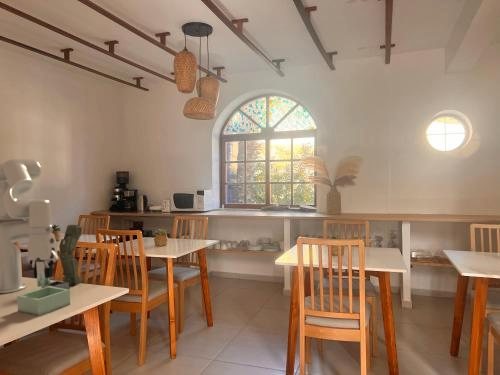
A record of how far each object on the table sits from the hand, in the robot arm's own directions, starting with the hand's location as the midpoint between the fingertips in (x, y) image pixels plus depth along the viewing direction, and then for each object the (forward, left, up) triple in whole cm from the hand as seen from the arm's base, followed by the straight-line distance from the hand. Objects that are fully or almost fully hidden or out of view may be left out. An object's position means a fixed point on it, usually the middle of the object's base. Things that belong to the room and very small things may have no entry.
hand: (43, 276), depth 140 cm
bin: (0, 0, -12) cm, 12 cm away
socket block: (-11, +12, -12) cm, 21 cm away
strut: (0, 0, -3) cm, 3 cm away
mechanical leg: (-19, +26, -13) cm, 35 cm away
